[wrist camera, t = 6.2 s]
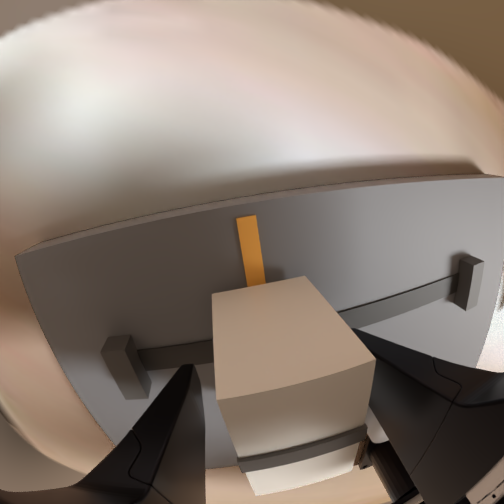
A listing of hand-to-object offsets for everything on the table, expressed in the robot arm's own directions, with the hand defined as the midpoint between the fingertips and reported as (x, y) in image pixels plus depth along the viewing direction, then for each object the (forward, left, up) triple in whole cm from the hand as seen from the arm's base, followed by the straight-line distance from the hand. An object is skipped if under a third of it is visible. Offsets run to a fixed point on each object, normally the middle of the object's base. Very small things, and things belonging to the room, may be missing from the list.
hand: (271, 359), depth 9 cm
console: (-2, -3, -3) cm, 5 cm away
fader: (0, 0, -1) cm, 1 cm away
